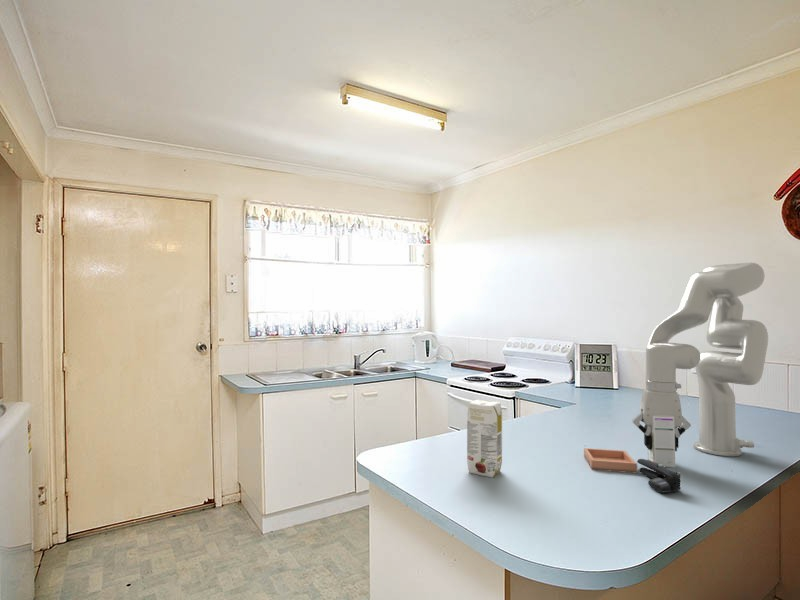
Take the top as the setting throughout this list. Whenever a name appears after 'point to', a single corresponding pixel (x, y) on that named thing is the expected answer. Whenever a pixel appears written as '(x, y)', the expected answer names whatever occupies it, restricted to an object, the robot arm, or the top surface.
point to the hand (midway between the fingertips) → (661, 448)
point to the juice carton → (484, 438)
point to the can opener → (660, 476)
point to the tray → (609, 460)
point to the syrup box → (663, 441)
